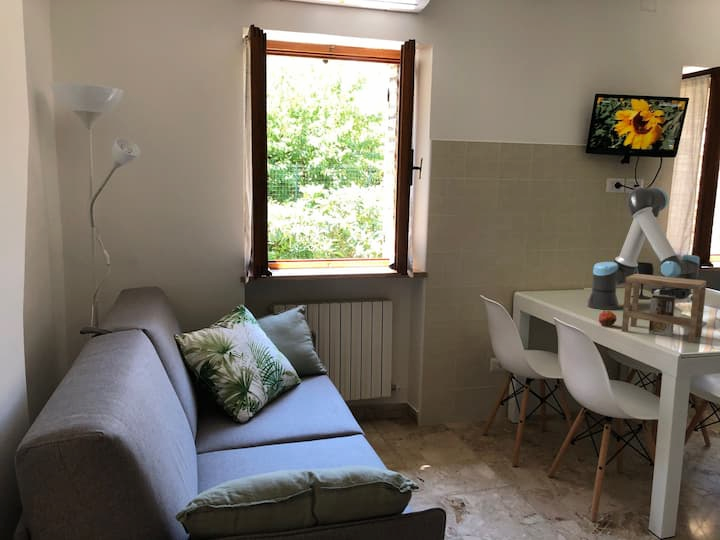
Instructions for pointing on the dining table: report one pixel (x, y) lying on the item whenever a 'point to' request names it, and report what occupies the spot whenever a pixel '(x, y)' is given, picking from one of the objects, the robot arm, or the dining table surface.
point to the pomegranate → (607, 318)
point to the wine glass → (646, 270)
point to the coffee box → (662, 307)
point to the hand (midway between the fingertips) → (671, 297)
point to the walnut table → (693, 322)
